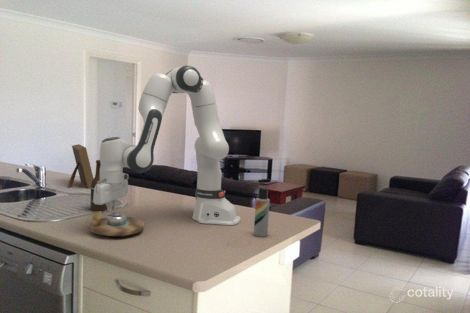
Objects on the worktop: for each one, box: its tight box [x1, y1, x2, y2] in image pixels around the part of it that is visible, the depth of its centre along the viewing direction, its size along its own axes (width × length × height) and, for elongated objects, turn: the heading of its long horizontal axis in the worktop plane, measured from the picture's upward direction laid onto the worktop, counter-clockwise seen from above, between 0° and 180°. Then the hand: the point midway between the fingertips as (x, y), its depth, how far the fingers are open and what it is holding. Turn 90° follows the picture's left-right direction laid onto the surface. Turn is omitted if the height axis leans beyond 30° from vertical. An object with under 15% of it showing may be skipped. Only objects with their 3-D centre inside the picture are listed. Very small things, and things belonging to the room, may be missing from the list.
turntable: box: [90, 211, 145, 237], centre depth 154 cm, size 20×20×7 cm
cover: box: [106, 212, 127, 226], centre depth 154 cm, size 7×7×4 cm
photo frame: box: [67, 143, 94, 189], centre depth 242 cm, size 15×22×25 cm
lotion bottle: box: [253, 186, 271, 238], centre depth 160 cm, size 6×6×20 cm
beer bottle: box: [90, 159, 107, 212], centre depth 186 cm, size 8×8×24 cm
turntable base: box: [101, 234, 133, 238], centre depth 155 cm, size 14×14×1 cm
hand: (111, 210), depth 159 cm, fingers closed
